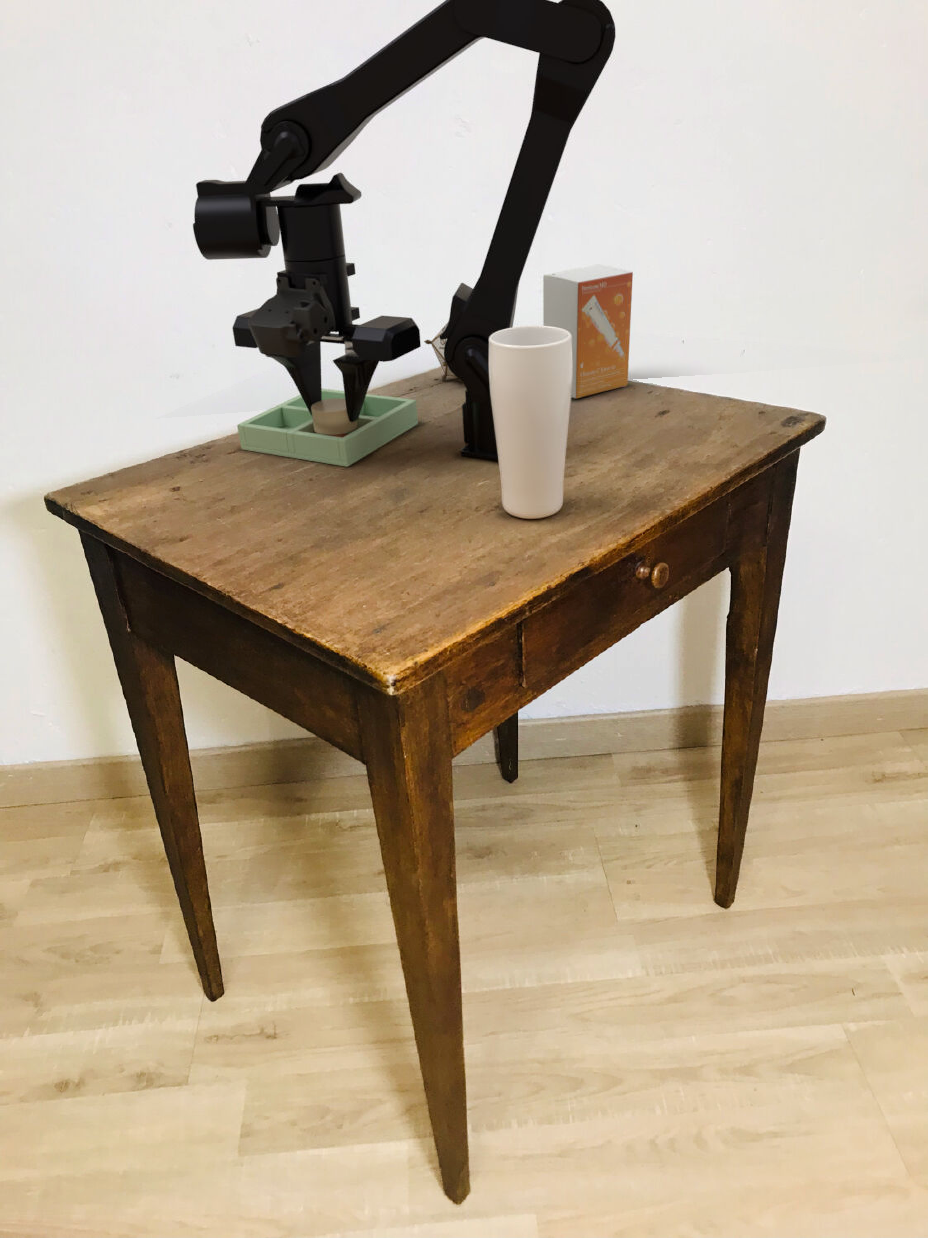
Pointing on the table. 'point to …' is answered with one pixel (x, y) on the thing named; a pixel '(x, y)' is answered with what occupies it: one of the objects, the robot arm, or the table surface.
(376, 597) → the table surface
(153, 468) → the table surface
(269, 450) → the grid
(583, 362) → the small box
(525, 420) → the drinking glass
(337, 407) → the cylinder
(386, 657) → the table surface
